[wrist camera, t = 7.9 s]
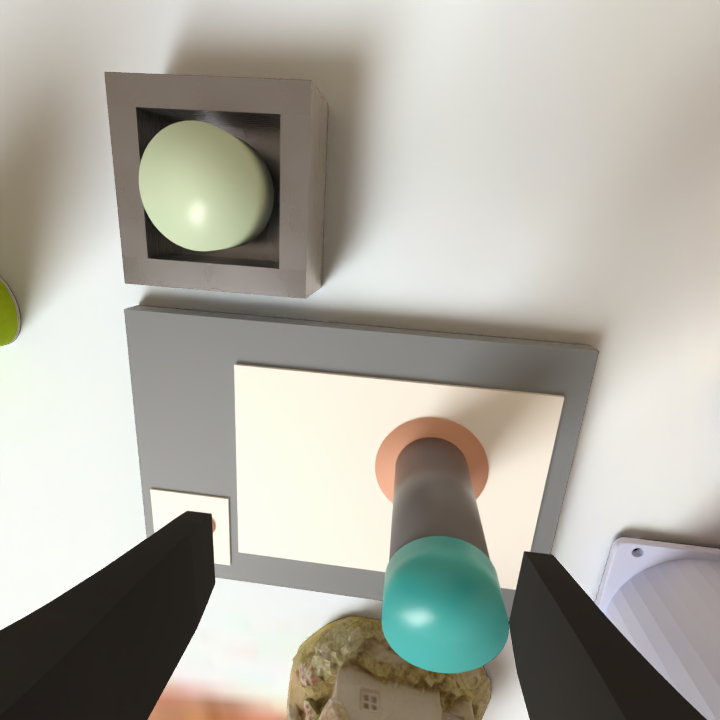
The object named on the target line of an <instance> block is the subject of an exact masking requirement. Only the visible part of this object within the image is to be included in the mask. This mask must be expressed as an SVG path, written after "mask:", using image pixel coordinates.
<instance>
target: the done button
mask: <svg viewBox="0 0 720 720" xmlns="http://www.w3.org/2000/svg"><path fill="white" fill-rule="evenodd" d="M139 190H140V195H141V199H142V203H143V205H144V208H145V210H146V212H147V214H148V216H149V218H150V219H151V221H152V222H153V224H154V225H155V226H156V228H157V229H158V230H159V231H160V232H161V233H162V234H163V235H164V236H165V237H166V238H168V239H169V240H170V241H172V242H174V243H175V244H177V245H179V246H181V247H184V248H187V249H190V250H195V251H213V250H220V249H228V248H235V247H239V246H243V245H245V244H247V243H249V242H251V241H252V240H254V239H255V238H256V237H257V236H258V235H259V234H260V233H261V232H262V231H263V230H264V228H265V227H266V225H267V223H268V221H269V219H270V217H271V214H272V210H273V205H274V187H273V181H272V178H271V174H270V172H269V169H268V167H267V165H266V163H265V162H264V160H263V159H262V157H261V156H260V155H259V153H258V152H257V151H256V150H255V149H254V148H253V147H252V146H250V145H249V144H248V143H247V142H245V141H243V140H242V139H240V138H238V137H236V136H234V135H232V134H230V133H228V132H226V131H224V130H222V129H220V128H218V127H216V126H214V125H211V124H209V123H205V122H202V121H182V122H177V123H174V124H171V125H169V126H167V127H166V128H164V129H163V130H161V131H160V132H159V133H157V134H156V135H155V137H154V138H153V139H152V140H151V141H150V143H149V144H148V146H147V148H146V149H145V151H144V154H143V157H142V159H141V163H140V168H139Z"/></svg>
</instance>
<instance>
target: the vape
mask: <svg viewBox="0 0 720 720" xmlns="http://www.w3.org/2000/svg"><path fill="white" fill-rule="evenodd" d="M20 324H21V320H20V312H19V308H18V305H17V302H16V299H15V297H14V295H13V293H12V291H11V290H10V288H9V287H8V285H7V284H6V283H5V281H4V280H3V279H2V278H1V277H0V346H4V345H7V344H10V343H12V342H13V341H14V340H15V339H16V338H17V336H18V334H19V331H20Z"/></svg>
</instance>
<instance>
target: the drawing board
mask: <svg viewBox="0 0 720 720" xmlns="http://www.w3.org/2000/svg"><path fill="white" fill-rule="evenodd" d="M124 313H125V323H126V333H127V343H128V354H129V364H130V374H131V384H132V394H133V404H134V414H135V424H136V434H137V444H138V454H139V464H140V474H141V485H142V495H143V505H144V515H145V525H146V535H147V538H148V537H150V536H151V535H152V534H154V533H155V532H157V531H158V530H159V529H161V528H162V527H164V526H165V525H167V524H168V523H169V522H171V521H172V520H174V519H175V518H177V517H178V516H180V515H181V514H183V513H184V512H186V511H195V512H203V513H211V514H212V528H213V547H214V567H215V577H217V578H224V579H231V580H238V581H246V582H253V583H260V584H267V585H274V586H281V587H288V588H295V589H302V590H309V591H316V592H324V593H331V594H338V595H345V596H352V597H359V598H366V599H373V600H380V601H383V592H384V579H385V572H386V568H387V565H388V563H389V554H390V539H391V524H392V509H393V494H394V479H395V465H396V460H397V458H398V456H399V454H400V452H401V451H402V450H403V449H404V447H406V446H407V445H408V444H410V443H411V442H413V441H415V440H418V439H421V438H427V437H435V438H441V439H444V440H447V441H449V442H451V443H453V444H454V445H455V446H457V447H458V448H459V449H460V450H461V451H462V453H463V454H464V456H465V458H466V461H467V464H468V468H469V473H470V477H471V481H472V485H473V490H474V494H475V498H476V502H477V506H478V511H479V515H480V519H481V523H482V528H483V532H484V536H485V540H486V545H487V549H488V553H489V557H490V561H491V562H492V564H493V566H494V567H495V570H496V572H497V576H498V580H499V584H500V588H501V592H502V596H503V600H504V605H505V609H506V613H507V617H508V619H510V614H511V610H512V605H513V600H514V596H515V591H516V586H517V582H518V577H519V572H520V568H521V563H522V558H523V553H524V551H528V552H536V553H544V554H551V550H552V545H553V541H554V537H555V533H556V529H557V525H558V520H559V516H560V512H561V508H562V504H563V500H564V495H565V491H566V487H567V483H568V479H569V475H570V470H571V466H572V462H573V458H574V454H575V450H576V445H577V441H578V437H579V433H580V429H581V425H582V420H583V416H584V412H585V408H586V404H587V400H588V395H589V391H590V387H591V383H592V379H593V374H594V370H595V366H596V362H597V358H598V354H599V351H597V350H596V349H594V348H593V347H591V346H590V345H582V344H571V343H560V342H548V341H537V340H526V339H514V338H503V337H492V336H480V335H469V334H458V333H446V332H435V331H424V330H412V329H401V328H390V327H378V326H367V325H356V324H344V323H333V322H322V321H310V320H299V319H287V318H276V317H265V316H253V315H242V314H231V313H219V312H208V311H197V310H185V309H174V308H163V307H151V306H140V305H137V306H134V307H130V308H127V309H124Z"/></svg>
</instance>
